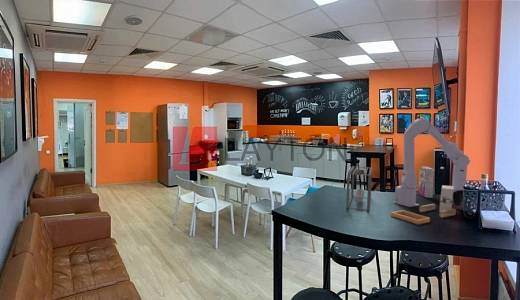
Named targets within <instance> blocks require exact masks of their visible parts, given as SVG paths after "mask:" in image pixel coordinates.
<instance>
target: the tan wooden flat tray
mask: <svg viewBox="0 0 520 300" xmlns="http://www.w3.org/2000/svg"><path fill="white" fill-rule="evenodd" d="M390 217H391V218H395V219H399V220H400V221H401V220H402V221H405V222H408V223H412V224H414V225H417V226H419V225H423V224H427V223H430V222H431V217H428V216H425V215H421V214H418V213H415V212H411V211H407V210H404V209H401V210H397V211H391V213H390Z"/></svg>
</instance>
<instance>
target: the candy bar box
mask: <svg viewBox="0 0 520 300" xmlns="http://www.w3.org/2000/svg"><path fill="white" fill-rule="evenodd" d="M418 179H419V180H418V194H419V195H420V196H422V197H423V198H424V197H426V199H434V184H435V182H434V181H435V169H434V168H432V167H429V166H419V177H418Z"/></svg>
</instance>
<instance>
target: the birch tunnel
mask: <svg viewBox="0 0 520 300" xmlns="http://www.w3.org/2000/svg"><path fill="white" fill-rule="evenodd" d="M418 210H419V211H418V212H419V213H423V212H429V211H433V210H434V211H435V210H436V204H435V203H430V204H425V205H419V209H418ZM456 213H457V209H456V208H452V209H449V210H445V211H440V212H439V215H438V217H439V218H447V217H450V216H455V215H457V214H456Z"/></svg>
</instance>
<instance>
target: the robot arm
mask: <svg viewBox="0 0 520 300" xmlns="http://www.w3.org/2000/svg"><path fill="white" fill-rule="evenodd" d="M422 133H424V134H429V135H430V136H431V137H432V138H433V139H434V140H435V141H436V142H438V143H439V145H441V150H442V152H444V153H445V155H446V156H447V157H449V158H450V160H451V162H452V163H453V169H452V179H451V181H452V183H451V186H453V188H454V189H453V200H452V201H453V204H454V206H455V207H456V206H457V207H460V206H461V205H462V202H463V200H462V199H464V198H463V191H464V190H463V186H465V185H466V186H467V175H468V174H467V173H468V166H469V164H470V163H471V160H470V157H469V156H468V155H466V154H464V151H463V150H460V148H458V144H457V143H456V142H452V141H448V140H447V139H446V138H445V136H444V135H443V134H442V133H441V132H440V131H439V130H438V129H437V127H435V126H434V125H433V124H432V123H431V122H429V120H428V119H426V118H417V119H415V120H413V121H412V122H410V123H409V124H408V127H406V130H405V131H404V133H403V169H402V174H401V177H400V182H401V183H402V184H401V185H398V186H396V188H395V191H394V201H393V203H394V204H395V205H396V204H397V205H401V206H403V207H404V206H405V207H408V208H411V207H417V206H420V204H419V203H416V200H417V199H416V198H417V185H419V180H418V178H417V175H416V169H415V138H416V137H418V136H419V135H420V134H422Z"/></svg>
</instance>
